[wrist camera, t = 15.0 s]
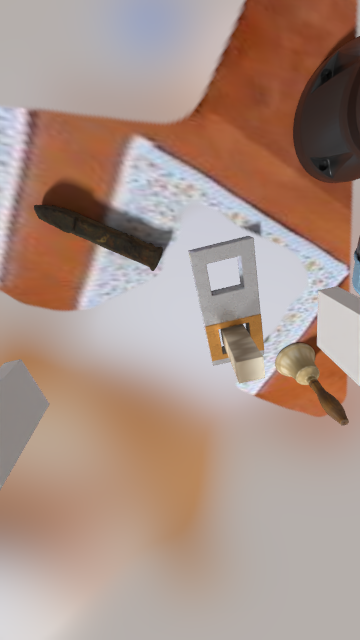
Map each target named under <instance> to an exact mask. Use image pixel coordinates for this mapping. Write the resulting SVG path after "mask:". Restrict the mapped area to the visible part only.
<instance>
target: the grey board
mask: <svg viewBox="0 0 360 640" xmlns="http://www.w3.org/2000/svg"><path fill="white" fill-rule="evenodd" d="M188 252H189V256H190V260H191V266H192V271H193V275H194V280H195V285H196V289H197V294H198V299H199V304H200V308H201V313H202V318H203V322H204V327H205V332H206V337H207V342H208V346H209V351H210V356H211V360H212V363H213V365H219V364H223V363H228V362H231V361H230V359H229V357H228V354H227V352H226V349H225V347H224V346H223V347H221V342H220V337H219V331H218V329H222V328H226V327H231V326H235V325H240V324H244V323H246V330H247V332H248V333H249V335H250V336H251V338H252V340H253V341H254V343H255V344H256V346H257V348H258V349H259V351H260V352H261V354H262V355H264V343H263V333H262V322H261V314H260V304H259V293H258V282H257V271H256V261H255V250H254V238H252V237H250V236H246V237H242V238H238V239H234V240H230V241H226V242H222V243H217V244H213V245H210V246H205V247H201V248H197V249H193V250H189V251H188ZM233 257H237V258H238V266H239V274H240V282H241V284H239V285H235V286H231V287H226V288H222V289H218V290H214V291H211V289H210V283H209V277H208V272H207V266H206V264H208V263H212V262H217V261H221V260H225V259H229V258H233Z"/></svg>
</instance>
